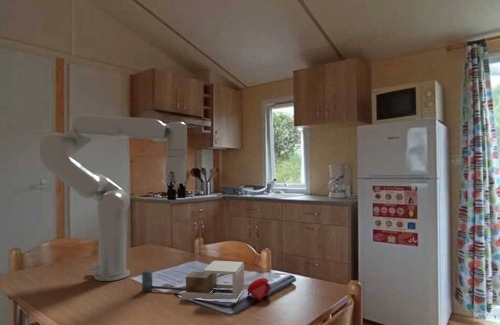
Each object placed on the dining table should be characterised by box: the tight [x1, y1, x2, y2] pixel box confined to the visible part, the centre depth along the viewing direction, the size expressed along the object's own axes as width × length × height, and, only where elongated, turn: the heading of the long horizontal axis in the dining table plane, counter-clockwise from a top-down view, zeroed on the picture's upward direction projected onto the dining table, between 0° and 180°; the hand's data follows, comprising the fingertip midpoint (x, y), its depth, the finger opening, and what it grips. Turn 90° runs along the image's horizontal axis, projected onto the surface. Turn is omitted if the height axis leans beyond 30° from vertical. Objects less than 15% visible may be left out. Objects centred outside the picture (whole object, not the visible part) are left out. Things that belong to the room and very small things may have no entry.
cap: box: [246, 277, 272, 302], centre depth 108 cm, size 8×6×6 cm
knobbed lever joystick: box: [141, 269, 214, 293], centre depth 113 cm, size 23×6×6 cm, turn 79°
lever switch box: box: [180, 260, 245, 301], centre depth 111 cm, size 17×11×9 cm, turn 79°
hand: (176, 198), depth 135 cm, fingers open, 9 cm apart
